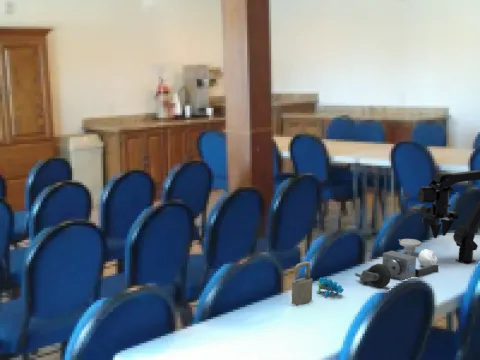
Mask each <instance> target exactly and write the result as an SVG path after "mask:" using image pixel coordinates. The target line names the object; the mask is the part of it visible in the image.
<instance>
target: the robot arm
mask: <svg viewBox="0 0 480 360" xmlns="http://www.w3.org/2000/svg"><path fill="white" fill-rule="evenodd" d="M472 181H478V182H480V169H475V170H466V171H459V172H447V171H446V172H445V171H438V172H436V173H435V174H434V176H433V178H432V180H431V181H430V183H429V184H428V185H427V186H419V190H418V191H417V194H416V195H417V196H416V198H417V202H419V203H420V204H421V203H423V204H424V203H426V204H427V203H432V204H431V206H427V205H423V206H421V207H420V211H419V212H420V214H421V215H423V217H422V221H421V222H422V224H423V223H424V224H427V225H429V227H430V229H431V233H432V236H433V239H437V238H438V235H439V232H440V230H441V231H442V232H441V234H442V236H443V237H445V236H446V235H447V233H448V231H449V230H450V228H451V226H452V225H453V224H454V222H455V220H457V219H459V214H458V212H457V211H452V210H449V208H450V207H451V204H450V203H449V201H450V200H449V199H450V197H449V196H450V192H454V191H455V190H454V188H453V187H452V186H454V185H456V184H458V183H463V182H464V183H465V182H472ZM440 222H441V223H440ZM479 224H480V198H479V199H478V201H477V202H476V204H475V206H474V207H473V209H472V211H471V212H470V214H469V217H468V218H467V219H466V221H465V223H464V224H463V225H457V227H456V228H455V230H454V231H453V236H452V238H453V241H454V242H455V245H456V246H457V247H459V249H458V258H456V259H455V262H458V263H462V264H466V265H469V264H472V263H475V262H476V261H477V260H476V259H474V251H477V250H478V247H479V245H478V244H477V243H476V242H475V240H474V239H475V236H476V229H477V227H478V226H479Z"/></svg>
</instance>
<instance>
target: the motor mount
mask: <svg viewBox="0 0 480 360" xmlns="http://www.w3.org/2000/svg"><path fill="white" fill-rule="evenodd" d="M416 263H417V257H416V256H413V255H412V256H410V255H407V253H402V252H398V251H395V250H389V251H385V252H382V264H383V265H385V266H386V267H387V268H388V269H389V271H390V273H391V278H394V279H397V280H400V281H403V280H405V279H408V278H411V277H415V278H421V277H424V276H427V275H429V274H433V273H439V264H435V265H429V266H426V267H424V266H422V267H420V268H417V267H416V266H417V264H416Z"/></svg>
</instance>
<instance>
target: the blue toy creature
mask: <svg viewBox="0 0 480 360" xmlns="http://www.w3.org/2000/svg"><path fill="white" fill-rule="evenodd" d="M317 286H318V290H317V291H316V294H318V293H319V294H320V292H321V290H325V293H324V295H323V296H324V297H325V296H326V297H325V298H328V295H329V293H330V292H332V291H334V292H335V293H336V294H342V293H343V292H344V288H343V286H342V285H341V284H338V282H337V281H333V280H332V279H331V278H327V277H325V276H324V277H319V279H318V283H317Z"/></svg>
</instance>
